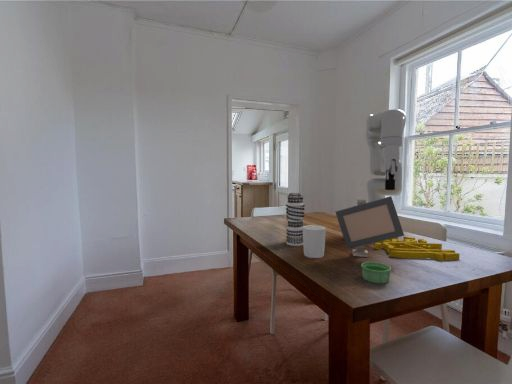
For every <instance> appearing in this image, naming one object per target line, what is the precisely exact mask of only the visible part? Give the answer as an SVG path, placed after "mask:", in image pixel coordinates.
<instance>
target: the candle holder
mask: <svg viewBox="0 0 512 384" xmlns="http://www.w3.org/2000/svg"><path fill="white" fill-rule="evenodd" d="M302 230H303V245H302V246H303V255H304V257H306V258H309V259H321V258H323V257H324V256H325V247H326V235H327V234H326V231H327V226H326V227H325V226H323V225H317V224H310V225H309V224H308V225H307V224H306V225H303V227H302Z"/></svg>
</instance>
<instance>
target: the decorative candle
mask: <svg viewBox="0 0 512 384" xmlns="http://www.w3.org/2000/svg"><path fill="white" fill-rule="evenodd" d="M286 197H287V202H286V203H287V204H285V207H286V208H285V211H286V212H285V213H286V221H287V225H286V226H287V228H286V239H285V241H286V244H287V245H288V246H292V247H299V246H303V230H302V227H303V226H304V221H305V219H304V218H305V215H304V214H305V211H304V210H305V208H304V207H305V206H306V205H305V204H304V196H303V195H302V193H301V192H290V193H288V195H287V196H286Z"/></svg>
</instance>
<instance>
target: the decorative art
mask: <svg viewBox="0 0 512 384" xmlns="http://www.w3.org/2000/svg"><path fill="white" fill-rule="evenodd" d="M381 249H383V250H385V251H387V253H388V254H389V257H391V258H398V259H420V258H430V259H429V260H437V261H439V262H444V261H456V260H460V255H461V254H460V253H458V252H456V250H452V249H443V244H442V243H436V242H431V243H430V242H428V241H427V240H426V239H425V238H418V239H417V240H416V238H415V237H409V236H405V235H404V236H403V240H400V239H399V237H396V238H392V239H388V240H384V241H379V242H375V243H374V250H376V251H377V250H381Z"/></svg>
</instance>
